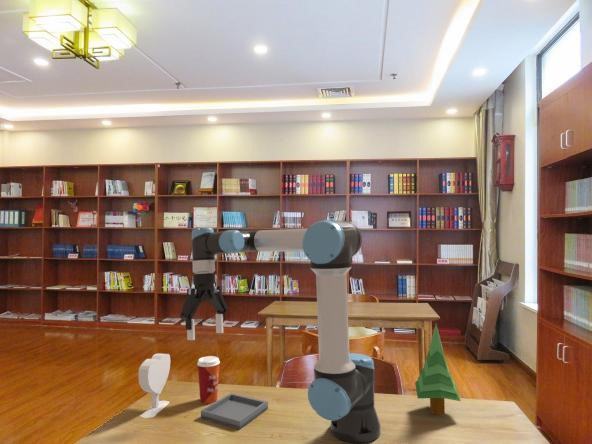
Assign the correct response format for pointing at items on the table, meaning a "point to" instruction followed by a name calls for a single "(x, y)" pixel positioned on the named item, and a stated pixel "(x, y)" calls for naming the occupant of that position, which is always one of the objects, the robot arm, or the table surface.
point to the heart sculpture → (154, 381)
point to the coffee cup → (208, 378)
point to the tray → (234, 410)
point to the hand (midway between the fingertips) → (206, 336)
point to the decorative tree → (436, 378)
